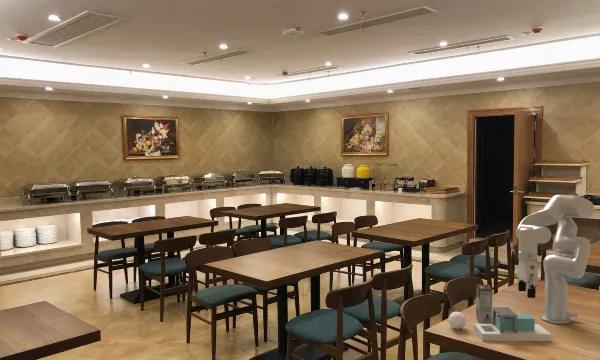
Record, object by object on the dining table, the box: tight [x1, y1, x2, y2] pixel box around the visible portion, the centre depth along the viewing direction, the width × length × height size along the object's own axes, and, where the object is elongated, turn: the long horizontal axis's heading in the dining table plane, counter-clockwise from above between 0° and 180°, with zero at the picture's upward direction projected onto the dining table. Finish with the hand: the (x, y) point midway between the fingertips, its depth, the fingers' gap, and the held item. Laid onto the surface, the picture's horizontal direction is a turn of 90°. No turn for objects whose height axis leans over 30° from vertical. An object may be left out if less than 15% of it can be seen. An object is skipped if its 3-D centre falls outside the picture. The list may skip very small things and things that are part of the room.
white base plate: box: [473, 323, 552, 342], centre depth 214 cm, size 29×12×3 cm, turn 87°
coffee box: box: [475, 284, 493, 324], centre depth 234 cm, size 9×6×16 cm
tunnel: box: [491, 306, 518, 333], centre depth 214 cm, size 7×10×8 cm
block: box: [496, 314, 536, 331], centre depth 214 cm, size 15×5×6 cm, turn 87°
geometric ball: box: [447, 311, 467, 330], centre depth 223 cm, size 8×8×8 cm
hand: (526, 294), depth 212 cm, fingers open, 9 cm apart
